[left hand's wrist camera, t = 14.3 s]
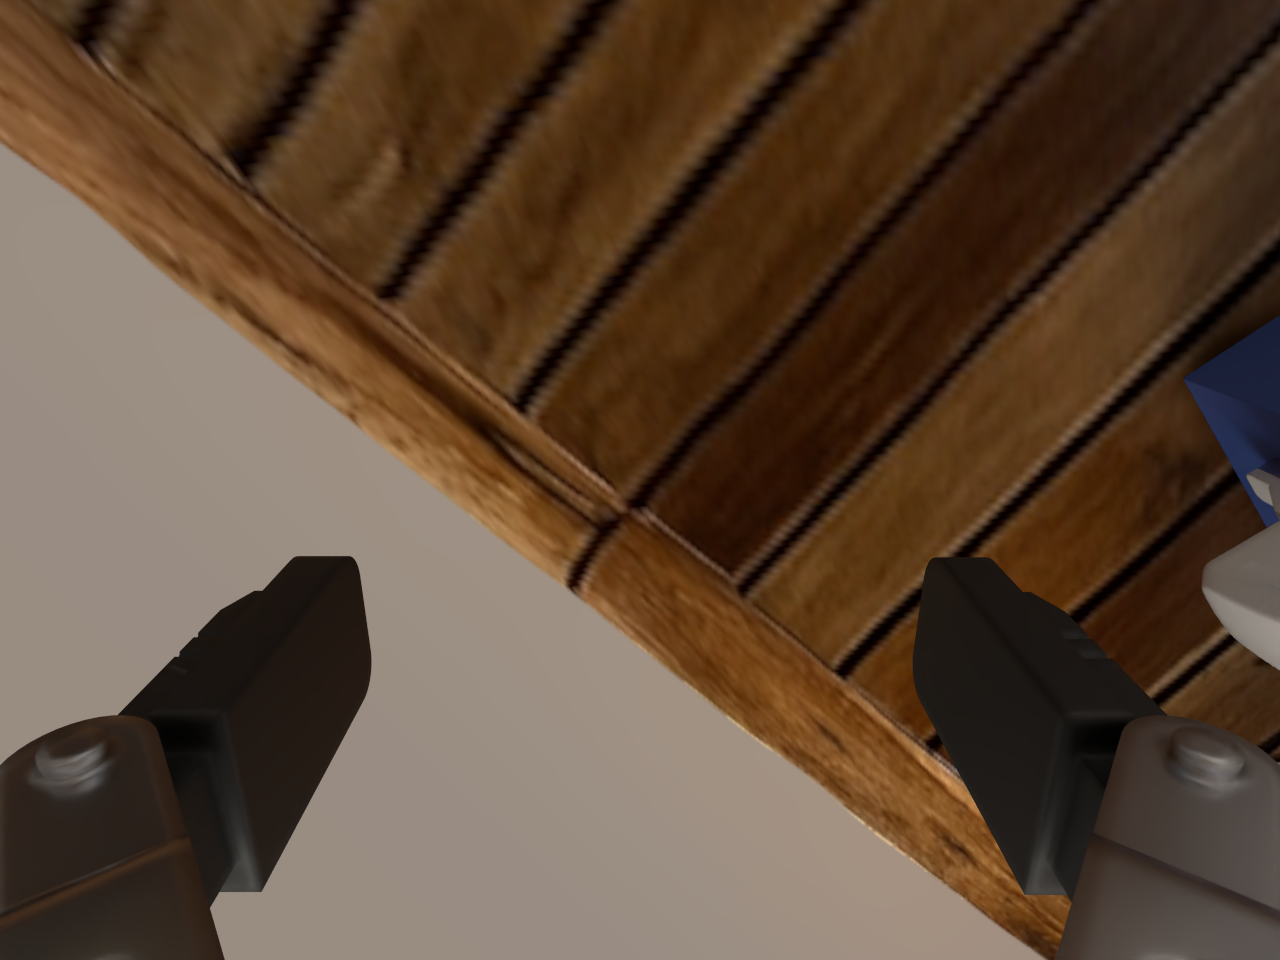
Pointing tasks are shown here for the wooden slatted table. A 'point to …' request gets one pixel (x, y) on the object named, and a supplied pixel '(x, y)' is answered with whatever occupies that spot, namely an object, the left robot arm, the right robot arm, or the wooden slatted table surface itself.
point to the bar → (1244, 404)
